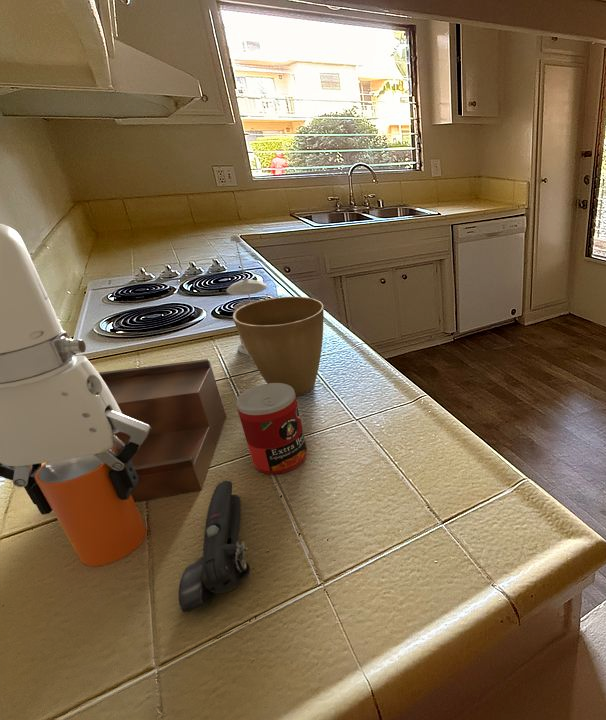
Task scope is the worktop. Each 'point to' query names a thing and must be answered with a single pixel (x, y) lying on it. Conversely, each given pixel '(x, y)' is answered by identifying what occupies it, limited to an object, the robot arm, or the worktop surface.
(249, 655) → the worktop surface
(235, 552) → the can opener
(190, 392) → the step shelf
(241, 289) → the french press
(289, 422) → the canned food
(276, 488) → the worktop surface
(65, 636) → the worktop surface
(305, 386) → the plant pot
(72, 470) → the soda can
